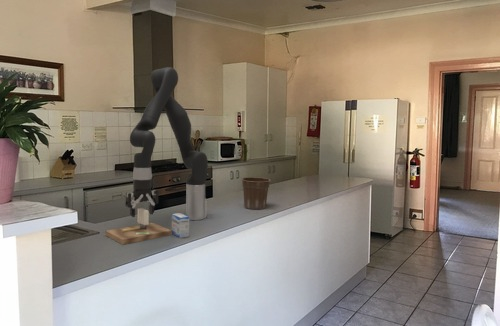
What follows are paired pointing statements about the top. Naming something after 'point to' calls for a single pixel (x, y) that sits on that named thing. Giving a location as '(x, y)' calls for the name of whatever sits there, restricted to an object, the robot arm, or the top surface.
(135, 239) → the brown flat wooden board
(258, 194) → the plant pot
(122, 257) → the top surface
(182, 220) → the medicine box
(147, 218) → the toy mallet
